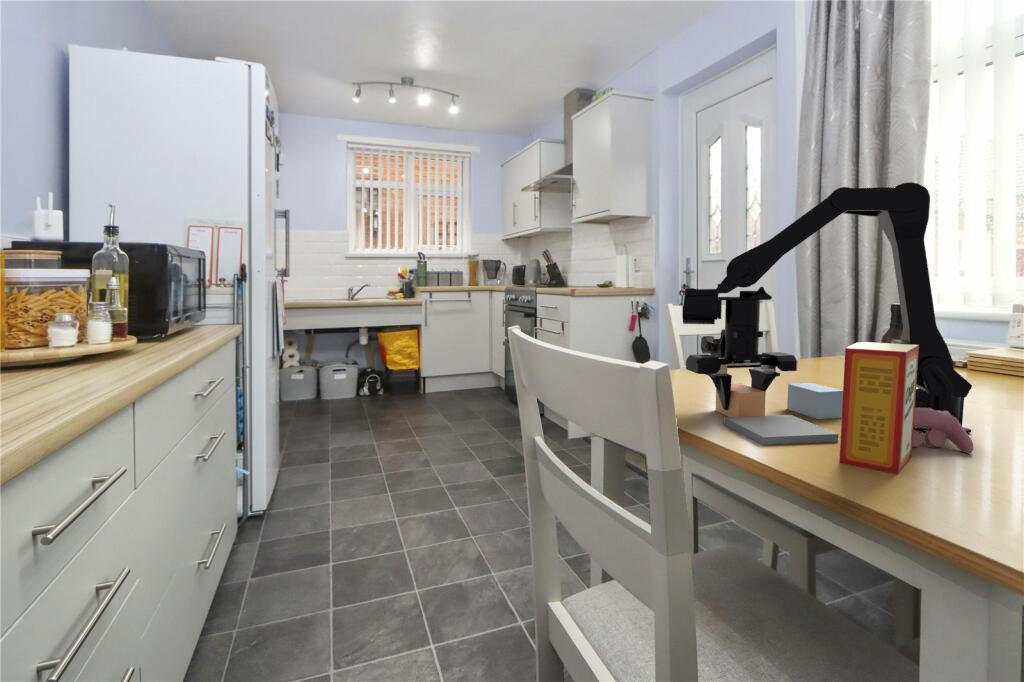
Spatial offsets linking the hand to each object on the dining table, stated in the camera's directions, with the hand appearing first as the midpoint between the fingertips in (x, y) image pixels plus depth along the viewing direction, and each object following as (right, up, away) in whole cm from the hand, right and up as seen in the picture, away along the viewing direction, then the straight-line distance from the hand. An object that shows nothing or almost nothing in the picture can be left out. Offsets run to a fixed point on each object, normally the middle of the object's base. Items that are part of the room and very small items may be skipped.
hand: (739, 409), depth 98 cm
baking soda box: (+8, -4, -25) cm, 27 cm away
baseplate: (+1, -2, -12) cm, 12 cm away
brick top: (+14, -1, 0) cm, 14 cm away
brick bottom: (0, -1, 0) cm, 1 cm away
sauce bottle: (+32, 0, +4) cm, 32 cm away
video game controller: (+18, -3, -21) cm, 28 cm away
